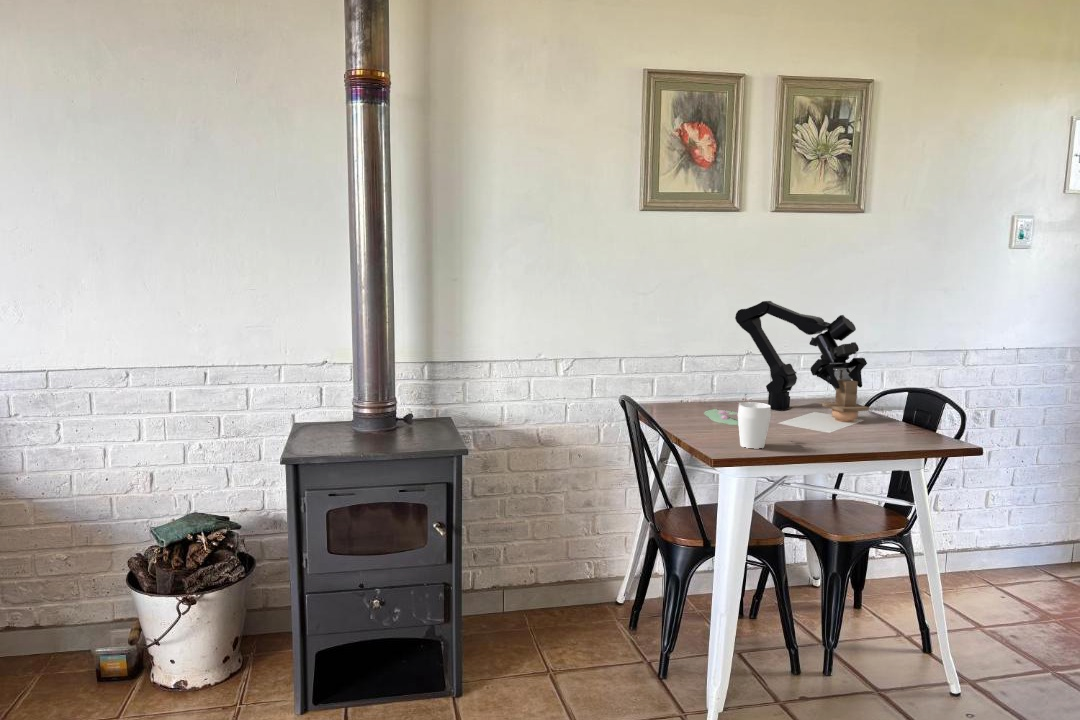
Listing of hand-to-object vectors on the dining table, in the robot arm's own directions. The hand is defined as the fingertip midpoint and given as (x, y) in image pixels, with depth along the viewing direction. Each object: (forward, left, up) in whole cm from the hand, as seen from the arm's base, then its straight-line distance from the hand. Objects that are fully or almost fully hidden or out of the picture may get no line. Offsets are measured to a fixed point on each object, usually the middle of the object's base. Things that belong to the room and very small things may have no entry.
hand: (849, 387), depth 256 cm
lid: (-1, +1, -7) cm, 7 cm away
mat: (-5, -7, -12) cm, 15 cm away
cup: (-6, -50, -12) cm, 52 cm away
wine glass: (-12, +21, -12) cm, 27 cm away
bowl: (-1, +1, -11) cm, 11 cm away
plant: (-30, -19, -13) cm, 38 cm away
